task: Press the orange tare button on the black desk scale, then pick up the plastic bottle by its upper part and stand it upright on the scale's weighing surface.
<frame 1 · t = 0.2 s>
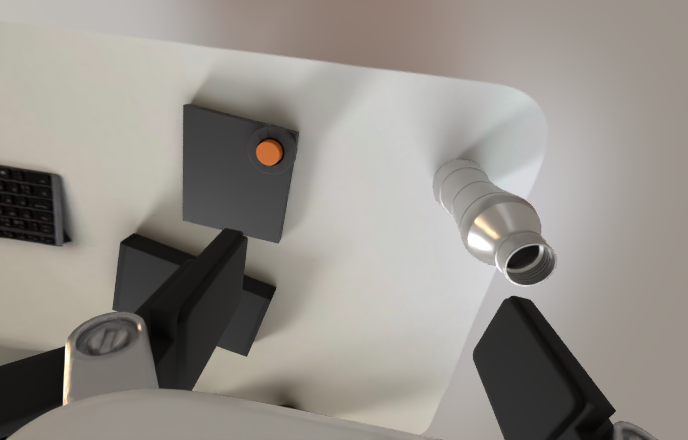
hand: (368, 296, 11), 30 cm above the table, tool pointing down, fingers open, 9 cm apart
external hard drive: (199, 292, 50), on the table
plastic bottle: (453, 179, 39), on the table
scale: (239, 177, 41), on the table
tare button: (269, 152, 36), point 3 cm above the table, slide at 0.1 cm
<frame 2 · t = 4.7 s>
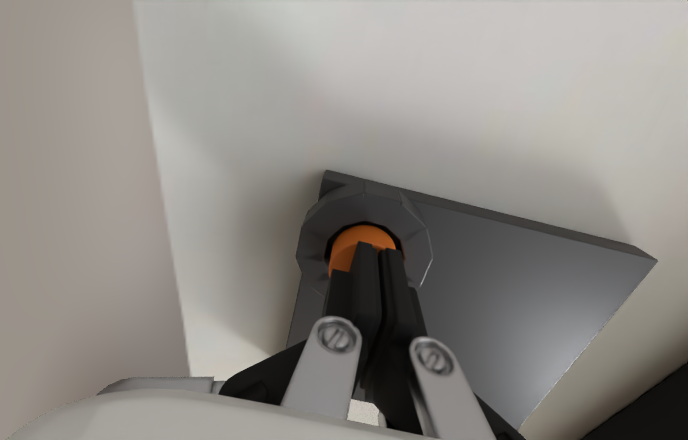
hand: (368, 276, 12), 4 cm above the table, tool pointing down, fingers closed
scale: (433, 314, 18), on the table
tare button: (363, 262, 12), point 3 cm above the table, slide at 0.1 cm, touching gripper
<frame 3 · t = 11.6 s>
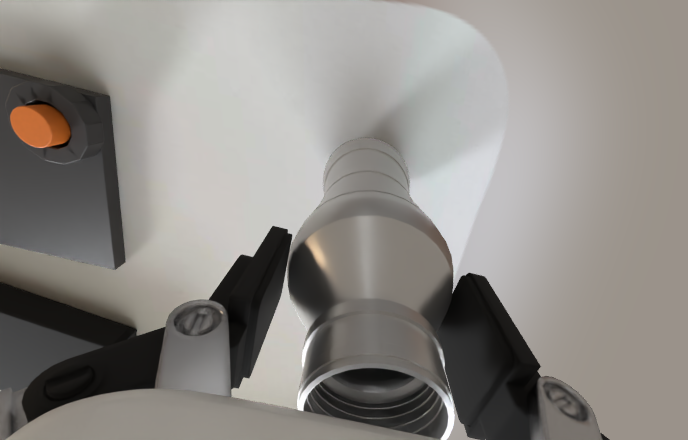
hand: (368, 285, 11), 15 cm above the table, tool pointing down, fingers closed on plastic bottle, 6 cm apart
external hard drive: (34, 334, 36), on the table
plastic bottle: (365, 172, 25), on the table, touching gripper
scale: (39, 170, 27), on the table
tare button: (41, 126, 21), point 3 cm above the table, slide at 0.1 cm
when the fingers open (16 cm above the table, at t = 20.6 s): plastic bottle stays where it is, resting on scale.
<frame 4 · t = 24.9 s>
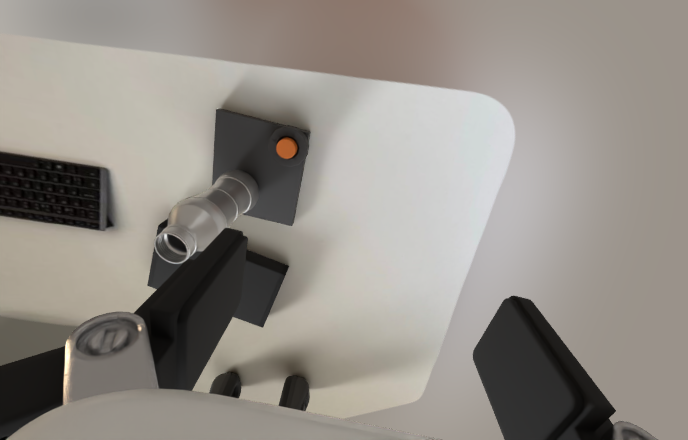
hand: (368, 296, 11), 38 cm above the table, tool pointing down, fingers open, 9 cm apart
external hard drive: (221, 270, 58), on the table
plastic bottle: (243, 186, 49), point 1 cm above the table, touching scale
scale: (259, 169, 49), on the table
tare button: (287, 148, 44), point 3 cm above the table, slide at 0.1 cm
headphones: (264, 380, 71), on the table
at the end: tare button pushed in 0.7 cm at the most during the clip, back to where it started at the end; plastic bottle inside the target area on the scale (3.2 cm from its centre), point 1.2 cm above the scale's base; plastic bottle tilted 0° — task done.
